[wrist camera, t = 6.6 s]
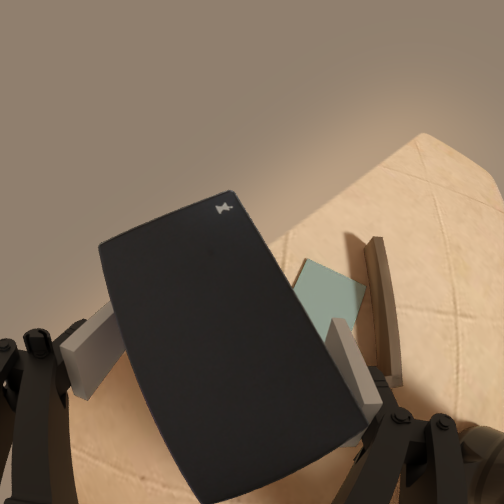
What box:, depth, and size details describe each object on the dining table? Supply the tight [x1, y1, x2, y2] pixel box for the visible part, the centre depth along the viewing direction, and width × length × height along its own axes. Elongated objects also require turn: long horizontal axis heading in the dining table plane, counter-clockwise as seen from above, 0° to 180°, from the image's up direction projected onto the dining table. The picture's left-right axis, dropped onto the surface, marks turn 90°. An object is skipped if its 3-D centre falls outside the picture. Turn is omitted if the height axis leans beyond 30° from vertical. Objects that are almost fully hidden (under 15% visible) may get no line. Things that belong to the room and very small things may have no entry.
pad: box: [293, 259, 366, 343], centre depth 33 cm, size 9×13×1 cm
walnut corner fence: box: [364, 236, 403, 388], centre depth 32 cm, size 17×20×4 cm
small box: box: [98, 190, 369, 504], centre depth 13 cm, size 11×6×10 cm, turn 27°
